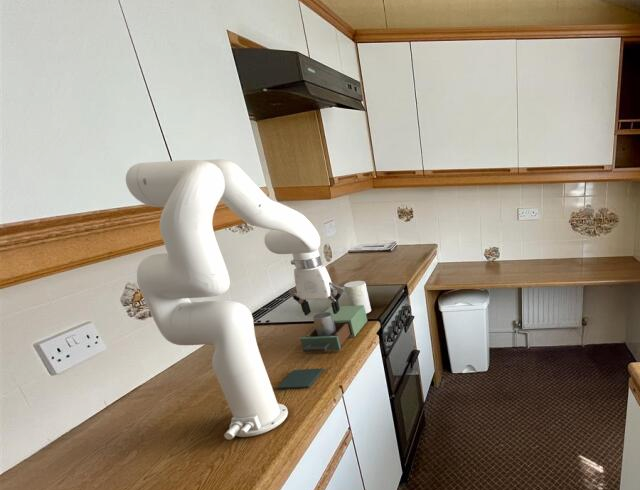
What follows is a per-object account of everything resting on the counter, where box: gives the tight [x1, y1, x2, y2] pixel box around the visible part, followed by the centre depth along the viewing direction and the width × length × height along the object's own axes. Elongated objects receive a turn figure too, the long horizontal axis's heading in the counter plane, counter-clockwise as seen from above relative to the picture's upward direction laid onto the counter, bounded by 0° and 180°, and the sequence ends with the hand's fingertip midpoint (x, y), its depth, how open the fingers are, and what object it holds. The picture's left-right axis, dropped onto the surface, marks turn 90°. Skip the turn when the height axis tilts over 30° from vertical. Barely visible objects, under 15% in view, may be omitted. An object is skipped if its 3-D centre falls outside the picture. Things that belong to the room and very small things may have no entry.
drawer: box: [299, 322, 352, 353], centre depth 137 cm, size 18×12×5 cm, turn 1°
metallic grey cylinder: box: [312, 311, 337, 337], centre depth 137 cm, size 6×6×9 cm
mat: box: [276, 368, 324, 390], centre depth 119 cm, size 10×9×1 cm
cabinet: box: [324, 305, 368, 338], centre depth 150 cm, size 15×13×7 cm
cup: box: [343, 280, 372, 315], centre depth 166 cm, size 8×8×12 cm
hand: (322, 313), depth 135 cm, fingers open, 9 cm apart
